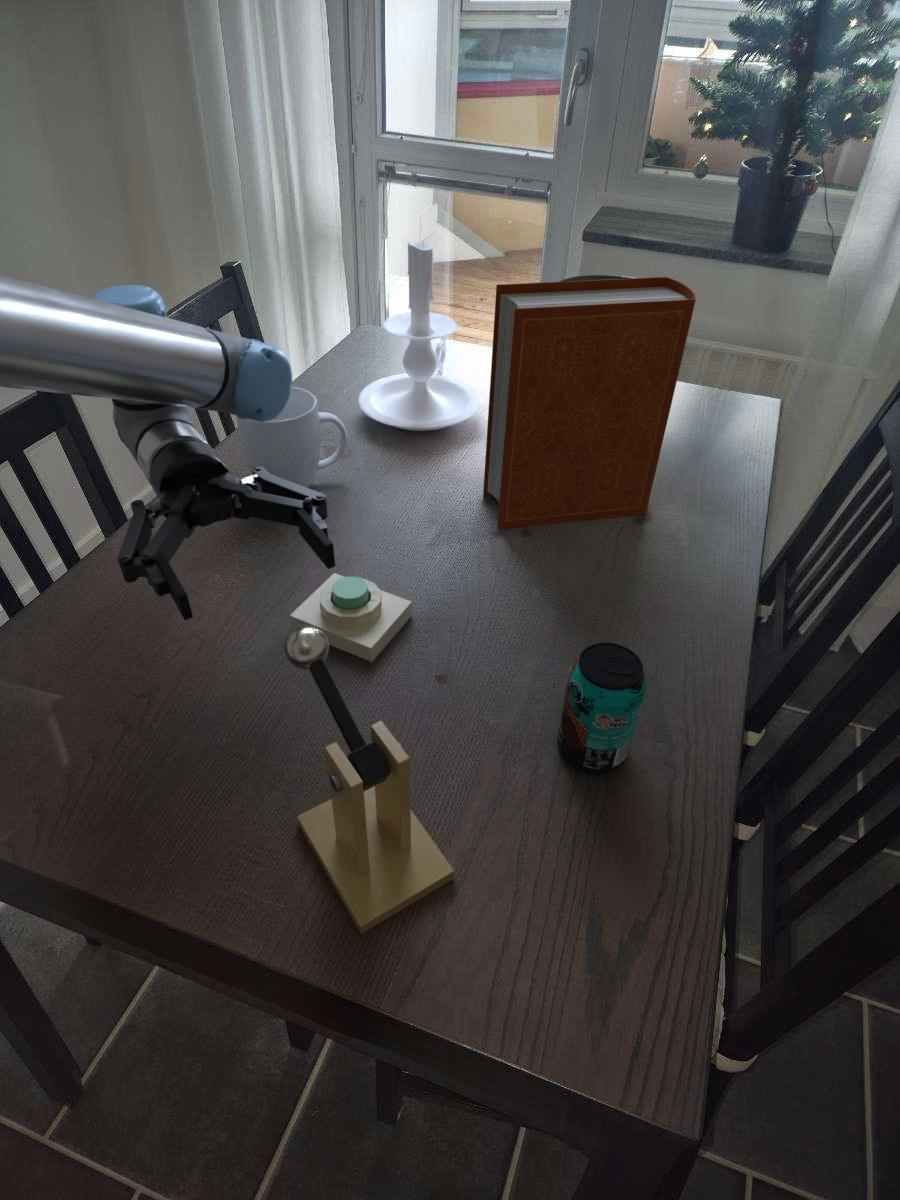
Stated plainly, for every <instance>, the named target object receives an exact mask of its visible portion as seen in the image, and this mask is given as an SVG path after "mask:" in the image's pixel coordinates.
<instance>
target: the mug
mask: <svg viewBox="0 0 900 1200" xmlns="http://www.w3.org/2000/svg"><path fill="white" fill-rule="evenodd" d="M235 417H236V423H237V430H238V434H239V439H240V440H239V441H240V444H241V449H242V452H243V453H242V454H243V456H244V459H245V462H246V464H247V466H248V469H249V471H250V473H251V475H253V473H252V468H253V467H256V466H262V467H263V468H264V469H266V470H267V471H268V472H269V473H270V474H272V475H275V476H277V477H280V478H283V479H285V480H288V481H291V482H293V483H296V484H299V485H301V486H304V487H307V488H309V489H310V487H311V485H312V484H313V482H314V479H315V477H316V475H317V471H320V470H323V469H325V468H328V467H330V466H333V465H334V464H336V463H337V462H338V461H340V460H341V458H342V457H344V456H343V455H344V454H345V453H346V450H347V446H348V434H347V430H346V427H345V424H344V423H343V422H342V420H341V419H340V418H339V417H338V416H337V415H335V414H333V413H329V412H325V411H324V412H323V411H321V412H320V411H319V409H318V401H317V397H316V396H315V395H314V394H313V393H312V392H310V391H309V390H307V389H304V388H301V387H296V386H291V389H290V396H289V399H288V402H287V404H286V406H285V407H284V409H283V410H282V412H281V413H280V414H279V415H278V416H276V417H275V418H273V419H272V420H269V421H264V422H261V421H256V420H251V419H241V418H239V417H238V416H236V415H235ZM323 423H332V424H334V425H335V426H336V427H337V429H338V431H339V435H340V439H339V444H338V447H337V449H336V450H335V452H334V453H332V454H331V455H330V456H329V457H326V458H325V459H321V460H320V456H321V455H320V454H321V427H320V424H323Z"/></svg>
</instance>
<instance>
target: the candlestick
mask: <svg viewBox="0 0 900 1200" xmlns="http://www.w3.org/2000/svg"><path fill="white" fill-rule="evenodd" d="M407 276H408V309H409V310H410V311H407V312H401V313H397V314H395V315H392V316H390V317H388V318H387V319H385V321H384V322H383V328H384V330H385V331H386V332H388V333H389V334H392V335H393V336H396V337H399V338H404V339H409V343H408V346H407V347H406V349H405V351H404V353H403V355H402V366H403V369H404V371H405V373H400V374H393V375H389V376H385V377H382V378H379V379H376V380H375V381H373V382H371V383H369V384H368V385H367V386H365V387H363V389H362V390H361V391H360V393H359V395H358V398H357V402H358V406H359V408H360V410H361V411H362V412H363V413H364V414H365V415H366V416H368V417H369V418H370V419H372V420H374V421H376V422H379V423H381V424H384V425H387V426H389V427H393V428H396V429H401V430H405V431H413V432H428V431H429V432H430V431H437V430H441V429H446V428H449V427H452V426H455V425H458V424H461V423H464V422H466V421H468V420H470V419H472V418H473V417H474V416H475V415H477V413H479V411H480V410H481V408H482V406H483V398H482V396H481V394H480V393H479V391H478V390H477V389H476V388H475V387H474V386H472V385H471V384H469V383H467V382H465V381H463V380H461V379H459V378H455V377H452V376H449V375H444V374H443V372H444V364H445V360H446V354H447V353H446V350H447V347H446V341H447V338H448V336H449V335H452V334H453V333H454V332H455V331H456V330H457V328H458V324H457V323H456V321H455V320H454V319H453V318H451V317H449V316H446V315H444V314H441V313H437V312H431V300H433V299H434V294H433V293H434V291H433V290H434V246H433V245H432V244H430V243H427V242H425V238H423V239H422V242H407ZM434 339H440V340H439V341H438V342H437V344H436V348H434V347H433V345H432V340H434ZM436 370H437V373H435V372H436Z"/></svg>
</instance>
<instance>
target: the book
mask: <svg viewBox="0 0 900 1200" xmlns="http://www.w3.org/2000/svg"><path fill="white" fill-rule="evenodd" d="M696 301H697V298H696V294H695V292H694V291H693V290H692V289H691V287H689V286H688V285H686V284H684V283H682V282H681V281H678V280H676V279H674V278H671V277H668V276H652V277H632V278H628V279H606V280H585V281H563V282H559V281H545V282H544V281H543V282H524V283H523V282H522V283H501V284H500V283H499V284H496V287H495V302H494V303H495V305H494V318H493V319H494V320H493V331H492V333H493V335H492V349H491V350H492V351H491V364H490V365H491V367H490V380H489V381H490V382H489V383H490V384H489V397H488V412H487V413H488V414H487V430H486V443H485V444H486V445H485V458H484V459H485V460H484V477H483V489H482V491H483V493H482V498H483V499H488V498H489V499H490V498H495V499H496V500H497V502H498V513H497V522H496V523H497V524H496V529H497V530H505V529H506V530H507V529H516V528H517V529H518V528H526V527H536V526H543V525H544V526H545V525H553V524H564V523H565V524H566V523H572V522H573V523H574V522H582V521H583V522H584V521H591V520H593V521H594V520H602V519H609V518H610V519H611V518H621V517H622V518H623V517H630V516H631V517H632V516H640V515H641V516H642V515H646V514H647V511H648V507H649V503H650V498H651V494H652V489H653V485H654V481H655V477H656V472H657V467H658V463H659V460H660V454H661V450H662V446H663V443H664V438H665V433H666V430H667V426H668V425H667V424H668V420H669V416H670V411H671V408H672V404H673V399H674V395H675V390H676V387H677V382H678V377H679V373H680V370H681V365H682V361H683V357H684V353H685V352H684V351H685V347H686V344H687V343H686V342H687V339H688V336H689V331H690V327H691V323H692V317H693V315H694V310H695V305H696Z"/></svg>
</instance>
